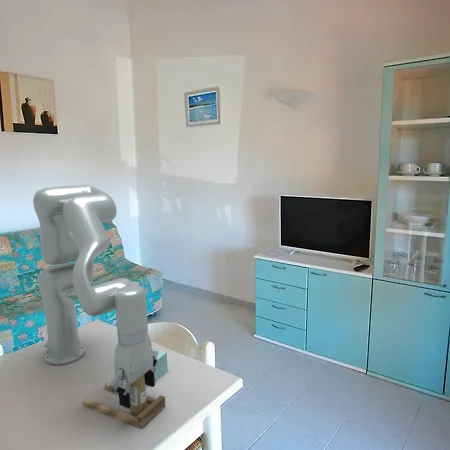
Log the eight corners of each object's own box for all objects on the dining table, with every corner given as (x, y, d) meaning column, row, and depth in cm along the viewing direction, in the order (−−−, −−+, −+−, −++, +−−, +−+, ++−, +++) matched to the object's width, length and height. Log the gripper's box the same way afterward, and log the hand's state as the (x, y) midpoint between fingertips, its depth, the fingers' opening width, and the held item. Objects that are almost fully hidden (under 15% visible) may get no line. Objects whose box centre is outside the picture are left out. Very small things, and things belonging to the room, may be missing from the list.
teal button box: (125, 378, 116) (123, 360, 115) (145, 363, 124) (143, 346, 123) (148, 386, 112) (147, 367, 110) (167, 370, 120) (166, 352, 119)
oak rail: (82, 405, 104) (81, 395, 103) (107, 387, 112) (107, 377, 111) (142, 429, 94) (141, 418, 94) (165, 406, 102) (164, 396, 102)
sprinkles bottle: (150, 412, 100) (147, 366, 98) (133, 419, 98) (129, 371, 95) (143, 403, 104) (140, 358, 101) (127, 410, 101) (123, 363, 99)
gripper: (143, 318, 106) (147, 374, 109) (96, 346, 91) (102, 411, 94) (165, 323, 102) (169, 381, 105) (120, 353, 87) (126, 420, 90)
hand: (137, 395), depth 100 cm, fingers open, 9 cm apart
